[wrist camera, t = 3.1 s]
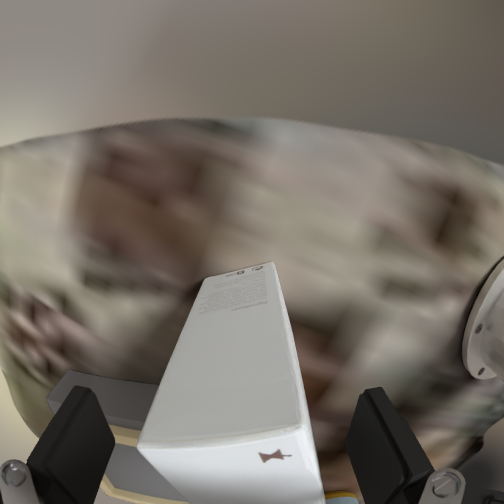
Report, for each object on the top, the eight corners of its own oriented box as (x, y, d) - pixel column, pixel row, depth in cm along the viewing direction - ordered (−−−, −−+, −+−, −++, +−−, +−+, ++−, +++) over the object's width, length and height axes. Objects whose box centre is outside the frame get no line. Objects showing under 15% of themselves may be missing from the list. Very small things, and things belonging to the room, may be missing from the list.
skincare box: (201, 277, 17) (126, 442, 5) (273, 258, 17) (312, 423, 5) (231, 361, 18) (214, 530, 7) (295, 346, 18) (333, 517, 6)
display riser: (209, 388, 19) (199, 438, 14) (222, 482, 22) (219, 518, 18) (68, 369, 19) (40, 404, 14) (114, 465, 22) (101, 496, 18)
